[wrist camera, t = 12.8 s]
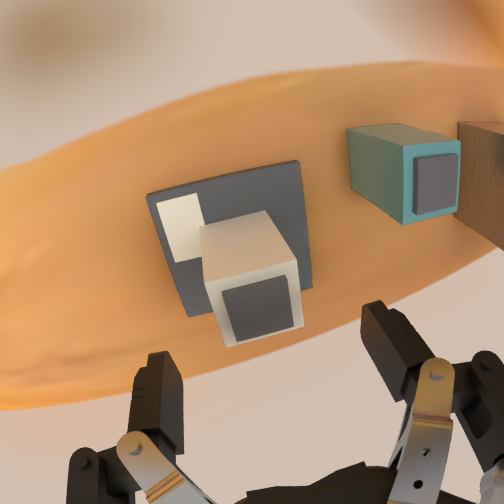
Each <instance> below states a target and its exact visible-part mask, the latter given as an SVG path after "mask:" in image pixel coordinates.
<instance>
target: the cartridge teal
mask: <svg viewBox="0 0 504 504" xmlns="http://www.w3.org/2000/svg"><path fill="white" fill-rule="evenodd" d="M346 130H347V139H348V149H349V160H350V173H351V188H352V189H353V190H354V191H356V192H357V193H359V194H360V195H361V196H363V197H364V198H366V199H367V200H369V201H370V202H371V203H373V204H374V205H376V206H377V207H378V208H380V209H381V210H382V211H384V212H385V213H387V214H388V215H389V216H391V217H392V218H393V219H395V220H396V221H397V222H399V223H400V224H401V225H407V224H411V223H415V222H418V221H422V220H426V219H430V218H434V217H438V216H441V215H445V214H449V213H453V212H457V205H458V194H459V179H460V153H461V141H460V140H456V139H453V138H450V137H447V136H443V135H440V134H437V133H433V132H429V131H426V130H422V129H418V128H414V127H410V126H406V125H402V124H387V125H375V126H365V127H356V128H347V129H346Z"/></svg>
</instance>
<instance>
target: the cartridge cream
mask: <svg viewBox="0 0 504 504" xmlns="http://www.w3.org/2000/svg"><path fill="white" fill-rule="evenodd" d="M199 230H200V242H201V254H202V266H203V276H204V284H205V287H206V290H207V293H208V296H209V299H210V302H211V305H212V308H213V311H214V314H215V317H216V320H217V323H218V325H219V328H220V331H221V334H222V337H223V340H224V342H225V345H226V348H227V347H231V346H235V345H239V344H243V343H247V342H251V341H255V340H258V339H262V338H266V337H269V336H273V335H277V334H280V333H284V332H287V331H291V330H294V329H298V328H301V327H304V319H303V309H302V300H301V291H300V283H299V274H298V266H297V259H296V257H295V256H294V254H293V253H292V251H291V250H290V248H289V246H288V245H287V243H286V242H285V240H284V238H283V237H282V235H281V234H280V232H279V231H278V229H277V228H276V226H275V224H274V223H273V221H272V220H271V218H270V217H269V215H268V214H267V212H266V210H264V211H259V212H255V213H251V214H247V215H243V216H239V217H235V218H231V219H227V220H223V221H219V222H215V223H211V224H207V225H204V226H200V227H199Z"/></svg>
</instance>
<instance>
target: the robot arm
mask: <svg viewBox="0 0 504 504" xmlns="http://www.w3.org/2000/svg"><path fill="white" fill-rule="evenodd" d="M360 333H361V339H362V342H363V344H364V346H365V348H366V350H367V351H368V353H369V355H370V357H371V358H372V360H373V362H374V364H375V366H376V367H377V369H378V371H379V373H380V375H381V376H382V378H383V380H384V382H385V384H386V385H387V387H388V389H389V391H390V393H391V395H392V396H393V399H394V400H395V402H398V401H401V400H403V399H404V400H405V402H406V404H407V406H406V409H405V413H404V417H403V422H402V425H401V429H400V432H399V436H398V439H397V442H396V446H395V449H394V451H393V453H392V456H391V458H390V461H389V464H388V467H381V466H367V467H366V465H365V462H364V461H363V462H360V463H358V464H355V465H352V466H349V467H346V468H343V469H340V470H337V471H335V472H333V473H331V474H330V475H328V476H326V477H324V478H322V479H321V480H319V481H317V482H315V483H313V484H311V485H308V486H275V487H270V488H265V489H259V490H253V491H247V492H246V493H247V498H244V499H241V500H240V501H238V502H236V503H235V504H476V503H474V502H471V501H468V500H465V499H463V498H460V497H457V496H455V495H452V494H450V493H447V492H445V491H442V490H440V487H441V483H442V479H443V475H444V471H445V467H446V462H447V457H448V453H449V448H450V442H451V437H452V431H453V420H451V419H450V414H451V413H455V414H456V416H457V418H458V420H459V422H460V424H461V426H462V428H463V430H464V432H465V434H466V436H467V438H468V440H469V442H470V444H471V446H472V448H473V450H474V452H475V454H476V457H477V459H478V461H479V463H480V465H481V468H482V470H483V472H484V475H483V476H482V478H481V481H480V493H481V501H480V503H479V504H504V364H503V363H502V361H501V360H500V359H499V357H498V356H497V355H496V354H494V353H493V352H491V351H480V352H478V353H476V354H475V355H474V357H473V359H472V361H471V362H464V363H458V364H451V363H450V362H448V361H447V360H445V359H443V358H437V357H435V355H434V354H433V353H432V351H431V350H430V348H429V347H428V346H427V344H426V343H425V342H424V340H423V339H422V338H421V336H420V335H419V334H418V332H416V330H415V328H414V327H413V326H412V325H411V324H410V322H409V321H408V319H407V318H406V316H405V315H404V314H403V313H401V312H399V311H397V310H396V309H394V308H393V309H390V310H388V309H387V307H386V306H385V305H384V303H383V302H382V301H381V300H378V301H374V302H371V303H368V304H365V305H363V306H362V316H361V329H360ZM183 424H184V423H183V381H182V377H181V374H180V372H179V371H178V369H177V367H176V365H175V363H174V361H173V359H172V358H171V356H170V354H169V352H168V351H162V352H156V353H150V354H149V355H148V361H147V367H142V368H140V369H139V371H138V372H137V374H136V376H135V378H134V383H133V391H132V400H131V406H130V414H129V423H128V430H127V434H125V435H123V437H121V438H120V440H119V441H118V443H117V445H116V446H114V447H112V448H109V449H106V450H103V451H100V452H95V451H94V450H93V449H91V448H87V447H84V448H80V449H78V450H76V451H75V452H74V453H73V454H72V456H71V458H70V462H69V471H68V483H67V497H66V504H135V492H136V491H139V490H143V491H144V492H145V493H146V495H147V497H146V499H147V501H148V502H149V504H217V503H216V502H215V501H213V500H212V499H211V498H210V497H209V496H208V495H206V494H205V493H204V492H203V491H202V490H201V489H200V488H199V487H198V486H197V485H196V484H195V483H194V482H193V481H192V480H191V479H190V478H189V477H188V476H187V475H186V474H185V473H184V472H183V471H182V470H181V469H180V468H179V467H178V466H177V464H176V455H181V454H184V425H183Z"/></svg>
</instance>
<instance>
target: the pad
mask: <svg viewBox="0 0 504 504" xmlns="http://www.w3.org/2000/svg"><path fill="white" fill-rule="evenodd" d="M146 200H147V203H148V206H149V209H150V212H151V215H152V219H153V222H154V225H155V228H156V231H157V234H158V237H159V240H160V242H161V245H162V248H163V251H164V254H165V257H166V260H167V262H168V265H169V268H170V271H171V273H172V276H173V279H174V282H175V284H176V287H177V290H178V292H179V295H180V297H181V300H182V303H183V305H184V308H185V310H186V313H187V315H188V317H192V316H196V315H201V314H206V313H210V312H214V311H213V308H212V305H211V302H210V299H209V296H208V293H207V290H206V287H205V284H204V276H203V266H202V254H201V242H200V230H199V227H200V226H204V225H207V224H211V223H215V222H219V221H223V220H227V219H231V218H235V217H239V216H243V215H247V214H251V213H255V212H259V211H264V210H266V212H267V214H268V215H269V217H270V218H271V220H272V221H273V223H274V224H275V226H276V228H277V229H278V231H279V232H280V234H281V235H282V237H283V238H284V240H285V242H286V243H287V245H288V246H289V248H290V250H291V251H292V253H293V254H294V256H295V257H296V259H297V266H298V274H299V283H300V291H302V290H306V289H309V288H313V286H312V274H311V262H310V251H309V240H308V230H307V221H306V211H305V203H304V194H303V186H302V178H301V170H300V162H299V161H297V160H294V161H289V162H283V163H278V164H273V165H268V166H263V167H258V168H253V169H248V170H243V171H239V172H234V173H230V174H225V175H221V176H216V177H212V178H208V179H204V180H200V181H196V182H191V183H187V184H184V185H180V186H176V187H172V188H168V189H164V190H161V191H157V192H153V193H150V194H147V196H146Z"/></svg>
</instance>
